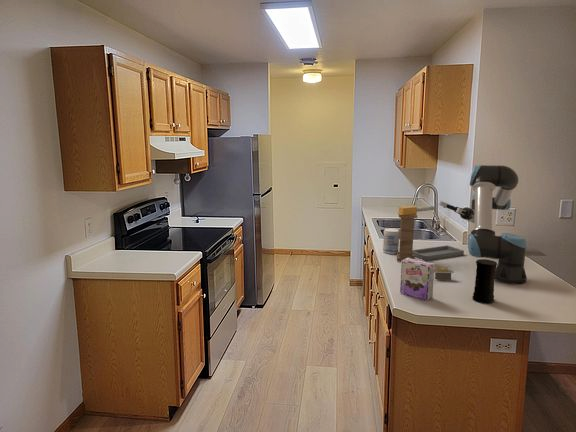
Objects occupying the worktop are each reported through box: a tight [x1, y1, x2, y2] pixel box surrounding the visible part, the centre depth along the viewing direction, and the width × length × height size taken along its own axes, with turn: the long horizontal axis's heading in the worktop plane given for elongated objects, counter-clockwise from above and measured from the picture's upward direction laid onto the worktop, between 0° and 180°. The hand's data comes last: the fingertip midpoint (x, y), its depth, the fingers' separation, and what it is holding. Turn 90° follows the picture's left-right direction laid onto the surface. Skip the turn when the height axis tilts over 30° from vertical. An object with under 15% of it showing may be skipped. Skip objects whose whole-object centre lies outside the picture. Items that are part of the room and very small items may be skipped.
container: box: [472, 258, 498, 305], centre depth 185 cm, size 9×9×18 cm
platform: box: [434, 266, 455, 281], centre depth 214 cm, size 12×18×7 cm, turn 86°
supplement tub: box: [382, 228, 400, 255], centre depth 264 cm, size 10×10×15 cm
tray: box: [412, 244, 465, 262], centre depth 258 cm, size 30×14×3 cm, turn 113°
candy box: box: [399, 258, 436, 301], centre depth 191 cm, size 14×6×16 cm, turn 45°
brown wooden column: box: [395, 211, 418, 262], centre depth 246 cm, size 10×10×28 cm
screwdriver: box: [397, 205, 435, 215], centre depth 246 cm, size 24×4×4 cm, turn 113°
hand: (448, 206), depth 248 cm, fingers open, 13 cm apart
